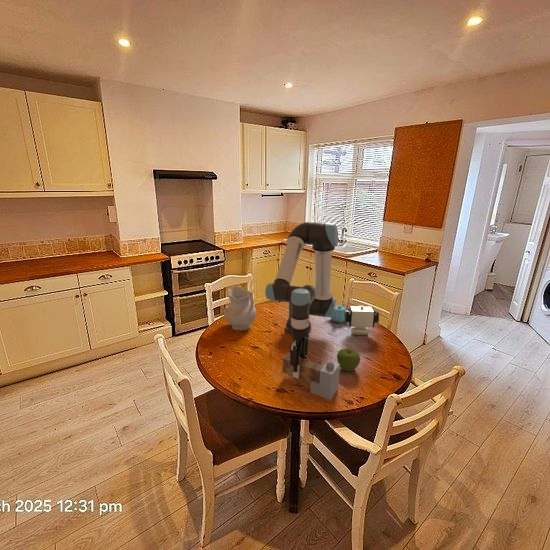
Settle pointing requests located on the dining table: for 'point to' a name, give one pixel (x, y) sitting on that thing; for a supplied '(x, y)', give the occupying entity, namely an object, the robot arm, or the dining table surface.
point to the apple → (348, 359)
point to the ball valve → (361, 319)
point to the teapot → (338, 313)
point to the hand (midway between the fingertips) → (298, 374)
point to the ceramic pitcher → (240, 308)
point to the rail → (303, 369)
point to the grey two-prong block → (327, 381)
